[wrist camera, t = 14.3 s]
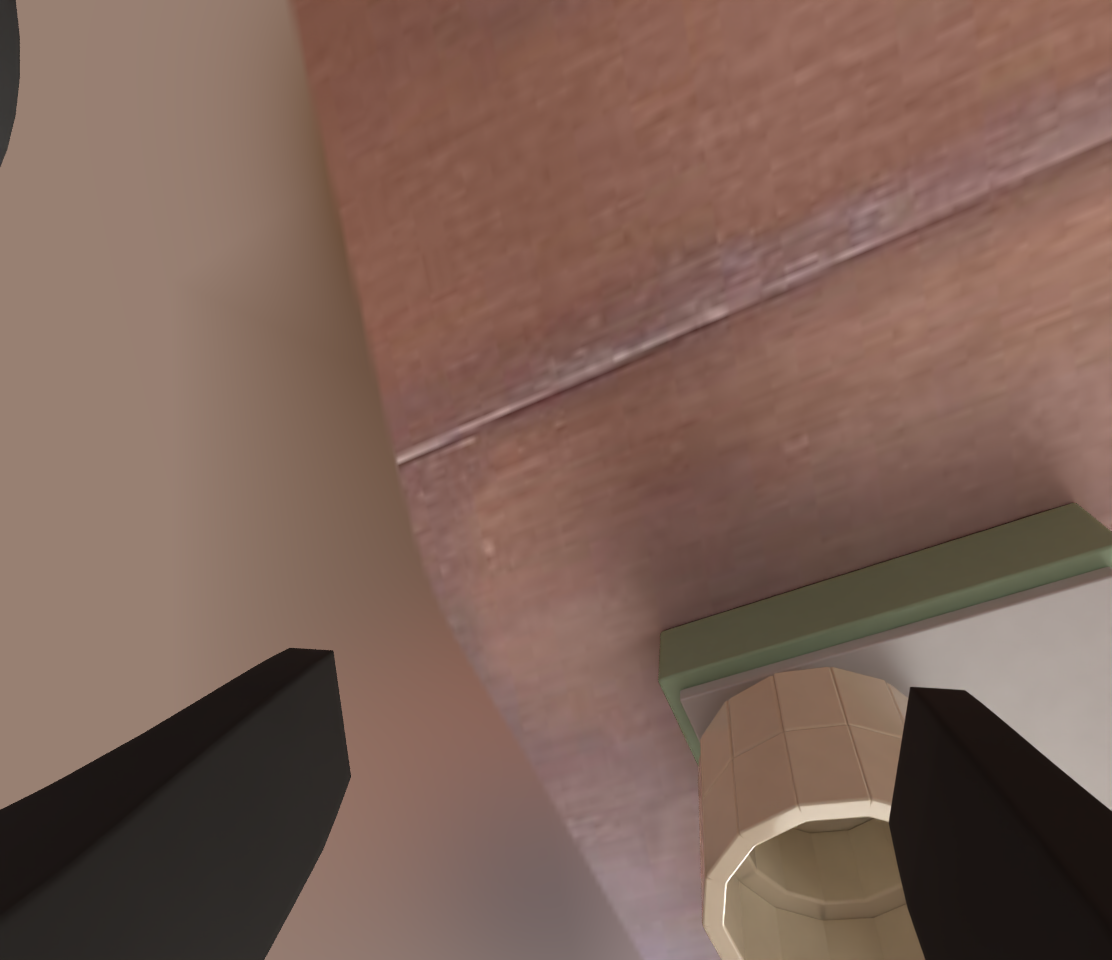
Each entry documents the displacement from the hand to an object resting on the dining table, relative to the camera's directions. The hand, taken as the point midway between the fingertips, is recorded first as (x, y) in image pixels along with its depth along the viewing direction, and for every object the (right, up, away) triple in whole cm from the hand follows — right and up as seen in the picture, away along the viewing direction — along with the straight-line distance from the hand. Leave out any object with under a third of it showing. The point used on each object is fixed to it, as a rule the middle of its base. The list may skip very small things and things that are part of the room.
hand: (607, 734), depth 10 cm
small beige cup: (+5, -3, +8) cm, 10 cm away
